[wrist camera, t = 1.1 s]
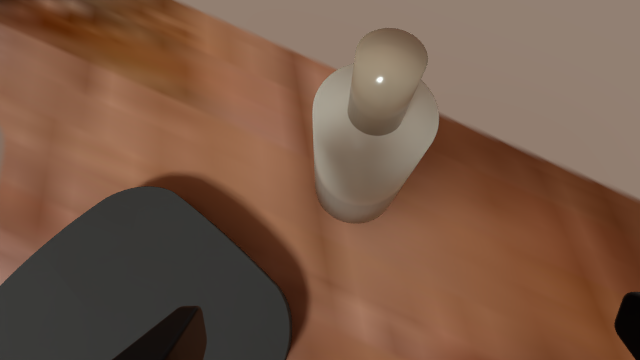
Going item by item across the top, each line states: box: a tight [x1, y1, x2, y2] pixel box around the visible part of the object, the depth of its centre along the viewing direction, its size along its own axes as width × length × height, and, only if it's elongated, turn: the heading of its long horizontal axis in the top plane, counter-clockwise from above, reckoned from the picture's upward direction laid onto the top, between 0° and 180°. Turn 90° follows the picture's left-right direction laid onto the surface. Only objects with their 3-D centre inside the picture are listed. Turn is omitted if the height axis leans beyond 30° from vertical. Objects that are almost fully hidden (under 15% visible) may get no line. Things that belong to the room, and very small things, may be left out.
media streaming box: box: [0, 187, 292, 360], centre depth 18 cm, size 15×15×3 cm
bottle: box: [313, 28, 439, 223], centre depth 17 cm, size 5×5×12 cm
